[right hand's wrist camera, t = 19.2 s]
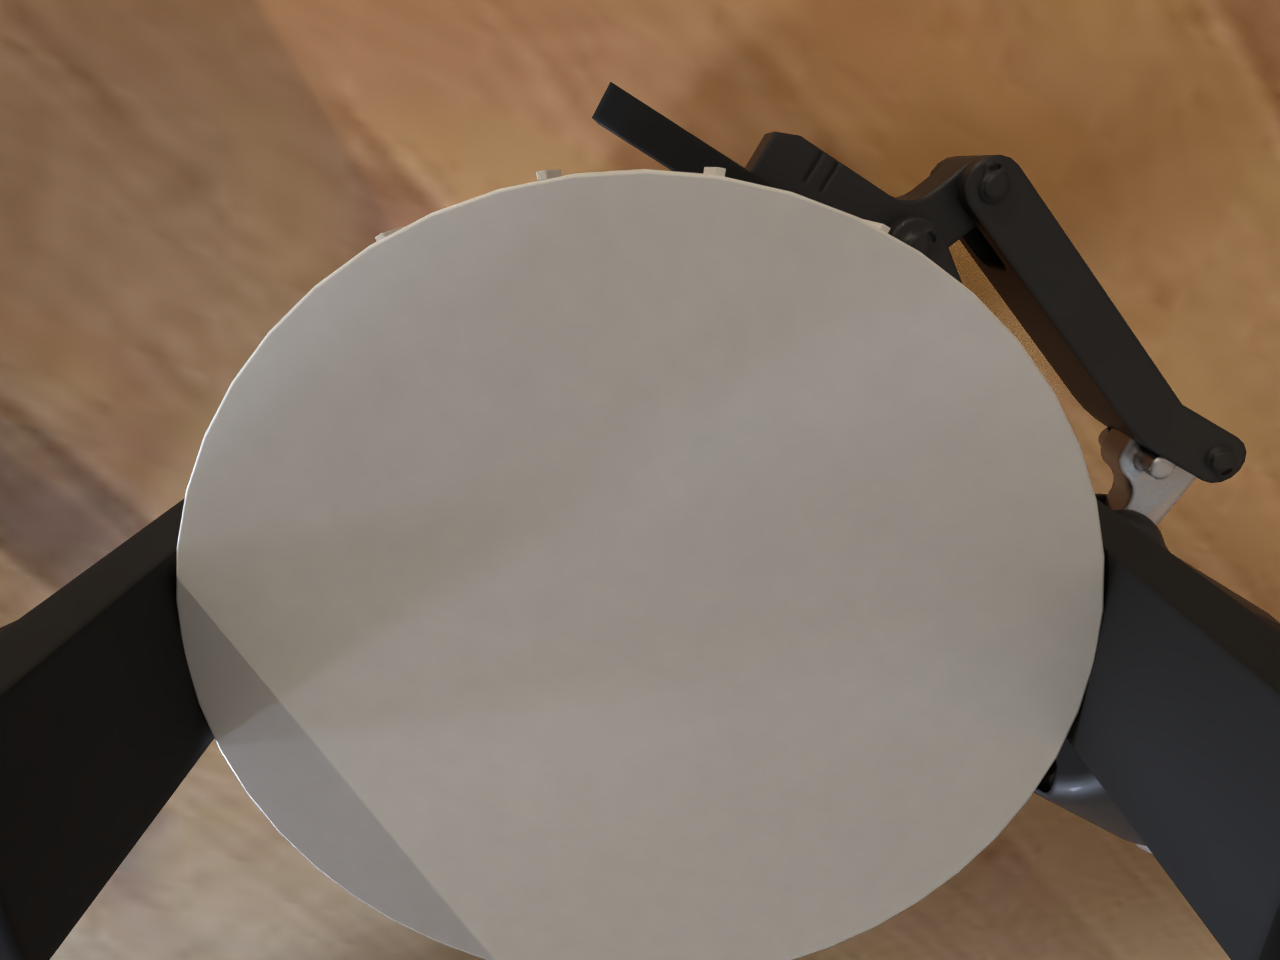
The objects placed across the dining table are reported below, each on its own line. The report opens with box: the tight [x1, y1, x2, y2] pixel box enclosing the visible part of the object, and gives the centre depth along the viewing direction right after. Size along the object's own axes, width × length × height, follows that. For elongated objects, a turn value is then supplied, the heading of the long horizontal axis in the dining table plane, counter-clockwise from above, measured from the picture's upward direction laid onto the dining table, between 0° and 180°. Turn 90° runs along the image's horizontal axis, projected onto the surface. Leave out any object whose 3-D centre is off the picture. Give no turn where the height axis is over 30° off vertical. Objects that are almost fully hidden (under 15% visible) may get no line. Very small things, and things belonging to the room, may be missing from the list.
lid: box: [176, 167, 1104, 960], centre depth 11 cm, size 11×11×2 cm
